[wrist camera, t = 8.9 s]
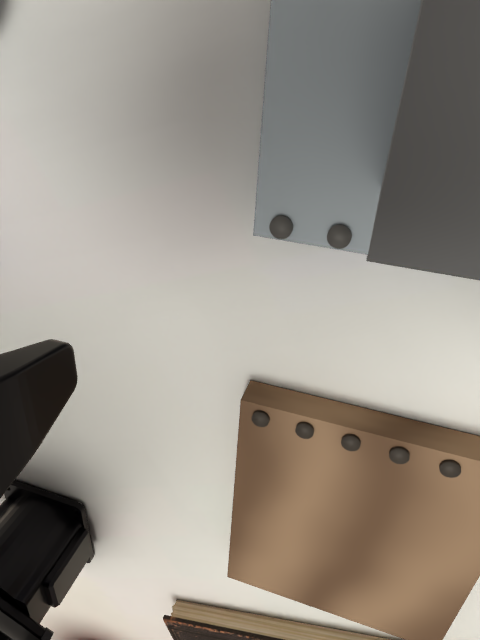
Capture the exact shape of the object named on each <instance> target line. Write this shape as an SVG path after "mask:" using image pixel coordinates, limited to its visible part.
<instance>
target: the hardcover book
mask: <svg viewBox="0 0 480 640" xmlns="http://www.w3.org/2000/svg"><path fill="white" fill-rule="evenodd" d="M176 601H177V602H176V604H175V605H174V606H172V609H173V612H172V613H171V615H172V616H167V615H164V617H163V620H164V622H165V624H166V626H167V628H168V630H169V632H170V634H171V636H172V638H173V639H174V640H392V639H386V638H381V637H375V636H370V635H365V634H359V633H354V632H348V631H343V630H338V629H332V628H327V627H321V626H316V625H310V624H305V623H300V622H294V621H289V620H283V619H278V618H273V617H267V616H262V615H256V614H251V613H246V612H240V611H235V610H229V609H224V608H219V607H213V606H208V605H202V604H197V603H192V602H186V601H181V600H176Z"/></svg>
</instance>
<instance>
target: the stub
mask: <svg viewBox="0 0 480 640" xmlns="http://www.w3.org/2000/svg"><path fill="white" fill-rule="evenodd" d="M253 235H254V236H260V237H266V238H272V239H278V240H284V241H290V242H296V243H302V244H308V245H314V246H320V247H326V248H332V249H338V250H344V251H350V252H356V253H361V254H367V255H368V256H367V261H370V262H376V263H382V264H387V265H393V266H399V267H405V268H411V269H417V270H422V271H428V272H434V273H440V274H446V275H452V276H458V277H463V278H469V279H475V280H480V0H271V8H270V21H269V35H268V48H267V61H266V74H265V88H264V101H263V114H262V127H261V140H260V154H259V167H258V180H257V193H256V207H255V220H254V233H253Z"/></svg>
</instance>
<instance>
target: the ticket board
mask: <svg viewBox="0 0 480 640" xmlns="http://www.w3.org/2000/svg"><path fill="white" fill-rule="evenodd" d="M479 576H480V436H477V435H473V434H469V433H464V432H460V431H456V430H452V429H448V428H444V427H440V426H436V425H432V424H428V423H424V422H419V421H415V420H411V419H407V418H403V417H399V416H395V415H391V414H387V413H383V412H379V411H374V410H370V409H366V408H362V407H358V406H354V405H350V404H346V403H342V402H338V401H334V400H329V399H325V398H321V397H317V396H313V395H309V394H305V393H301V392H297V391H293V390H289V389H284V388H280V387H276V386H272V385H268V384H264V383H260V382H256V381H252V380H250V382H249V384H248V386H247V388H246V390H245V392H244V395H243V397H242V399H241V405H240V418H239V431H238V444H237V458H236V471H235V484H234V497H233V511H232V524H231V537H230V550H229V563H228V577H229V578H232V579H235V580H238V581H241V582H244V583H246V584H249V585H252V586H255V587H258V588H261V589H263V590H266V591H269V592H272V593H275V594H278V595H280V596H283V597H286V598H289V599H292V600H295V601H298V602H300V603H303V604H306V605H309V606H312V607H315V608H317V609H320V610H323V611H326V612H329V613H332V614H334V615H337V616H340V617H343V618H346V619H349V620H351V621H354V622H357V623H360V624H363V625H366V626H368V627H371V628H374V629H377V630H380V631H383V632H386V633H388V634H391V635H394V636H397V637H400V638H403V639H405V640H443V638H444V636H445V634H446V633H447V631H448V629H449V628H450V626H451V624H452V622H453V621H454V619H455V617H456V616H457V614H458V612H459V610H460V609H461V607H462V605H463V603H464V602H465V600H466V598H467V597H468V595H469V593H470V591H471V590H472V588H473V586H474V585H475V583H476V581H477V579H478V578H479Z"/></svg>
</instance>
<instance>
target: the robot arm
mask: <svg viewBox="0 0 480 640" xmlns="http://www.w3.org/2000/svg"><path fill="white" fill-rule="evenodd" d="M76 384H77V371H76V364H75V357H74V350H73V348H72V346H71V345H70V344H69V343H66V342H62V341H58V340H53V339H49V340H46V341H42V342H39V343H36V344H33V345H29V346H26V347H23V348H20V349H16V350H13V351H10V352H7V353H3V354H0V498H1V497H2V495H3V494H4V495H5V498H6V500H5V501H4V502H3V503H2V504H1V505H0V640H50V639H51V637H52V635H53V632H52V631H51V630H50V629H48V628H47V627H46V628H44V627H43V626H41V625H40V622H41V620H42V619H43V617H44V616H45V614H46V613H47V611H48V610H49V608H50V607H51V606H52V607H57V606H58V605H60V603H61V602H62V600H63V599H64V597H65V595H66V594H67V592H68V591H69V589H70V588H71V586H72V584H73V583H74V581H75V580H76V578H77V576H78V575H79V573H80V572H81V570H82V569H83V567H84V565H85V564H86V563H90V562H91V560H92V559H93V557H94V555H93V549H92V544H91V538H90V533H89V528H88V522H87V517H86V511H85V507H84V506H83V505H82V504H81V503H79V502H77V501H74V500H71V499H68V498H65V497H62V496H59V495H56V494H53V493H50V492H47V491H44V490H41V489H39V488H36V487H33V486H30V485H27V484H24V483H21V482H18V481H15V479H16V477H17V476H18V475H19V473H20V472H21V471H22V470H23V468H24V467H25V466H26V464H27V463H28V462H29V460H30V459H31V458H32V456H33V455H34V453H35V452H36V450H37V449H38V447H39V446H40V444H41V443H42V441H43V440H44V438H45V436H46V435H47V433H48V432H49V430H50V428H51V427H52V425H53V424H54V422H55V420H56V419H57V417H58V416H59V414H60V412H61V411H62V409H63V408H64V406H65V404H66V403H67V401H68V400H69V398H70V396H71V395H72V393H73V392H74V390H75V387H76Z"/></svg>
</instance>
